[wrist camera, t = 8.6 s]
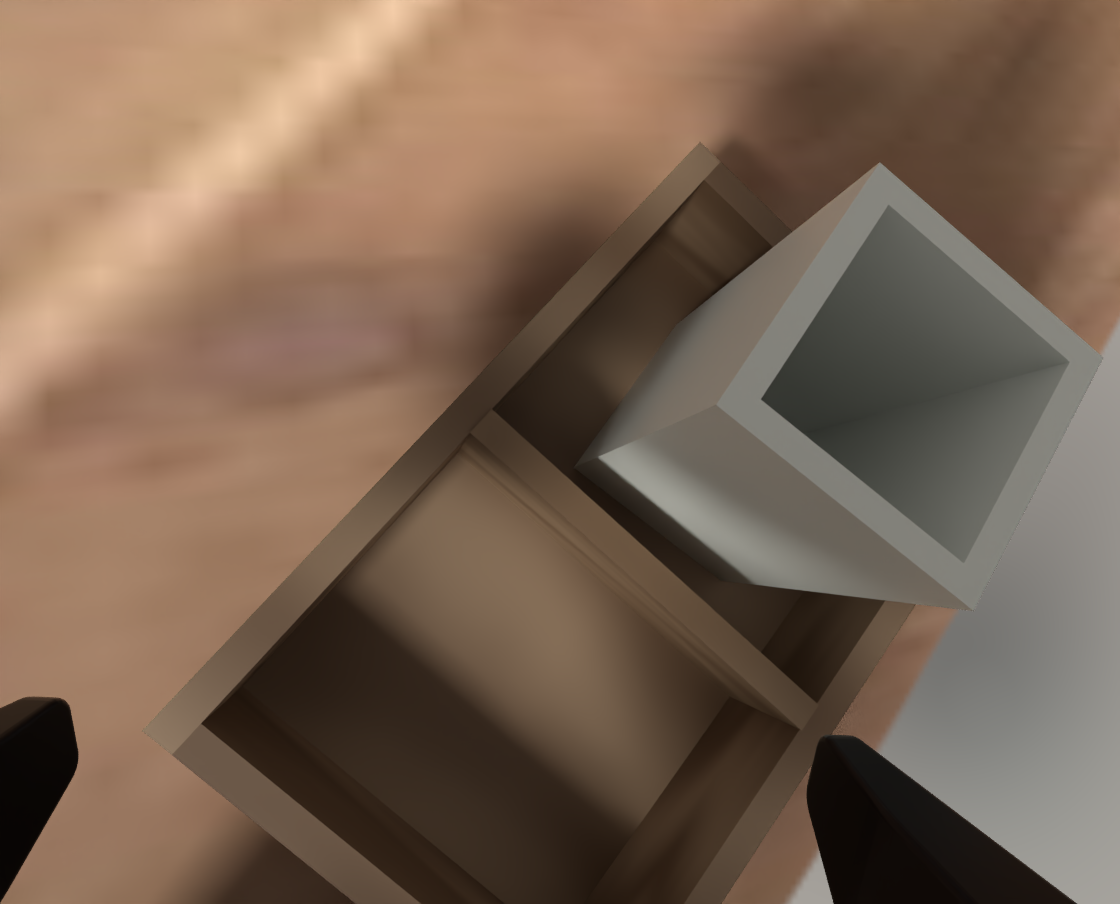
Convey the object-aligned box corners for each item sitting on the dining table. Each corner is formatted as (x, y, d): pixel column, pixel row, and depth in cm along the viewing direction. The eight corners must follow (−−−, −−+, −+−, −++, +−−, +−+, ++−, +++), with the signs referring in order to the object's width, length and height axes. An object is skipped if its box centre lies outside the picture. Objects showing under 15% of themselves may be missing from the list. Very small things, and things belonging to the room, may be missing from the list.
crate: (553, 975, 20) (596, 1101, 15) (202, 686, 19) (140, 731, 14) (907, 466, 25) (1018, 450, 20) (645, 215, 24) (701, 139, 19)
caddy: (721, 580, 22) (974, 611, 12) (573, 467, 21) (715, 404, 12) (811, 434, 23) (1103, 357, 14) (676, 324, 23) (879, 162, 13)
